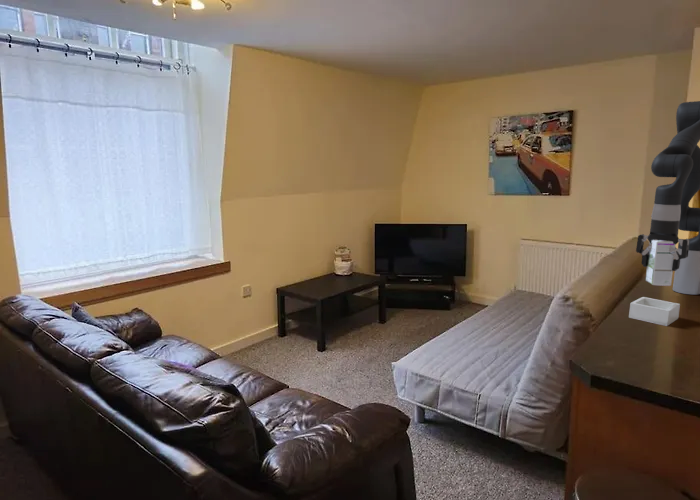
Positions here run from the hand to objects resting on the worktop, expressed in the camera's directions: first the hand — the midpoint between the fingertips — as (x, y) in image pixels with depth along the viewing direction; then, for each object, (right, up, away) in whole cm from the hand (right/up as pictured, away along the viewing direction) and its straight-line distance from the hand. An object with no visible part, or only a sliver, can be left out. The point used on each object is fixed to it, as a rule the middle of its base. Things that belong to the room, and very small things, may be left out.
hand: (659, 268), depth 152 cm
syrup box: (0, -5, +1) cm, 5 cm away
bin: (0, -17, +3) cm, 17 cm away
